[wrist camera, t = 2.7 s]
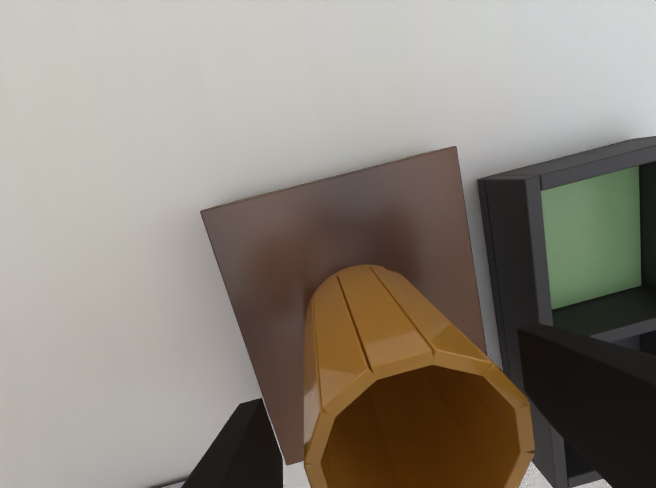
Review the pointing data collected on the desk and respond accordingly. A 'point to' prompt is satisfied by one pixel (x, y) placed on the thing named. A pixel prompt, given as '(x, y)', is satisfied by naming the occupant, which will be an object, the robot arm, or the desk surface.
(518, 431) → the cup
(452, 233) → the brown flat block
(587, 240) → the tray
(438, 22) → the desk surface
